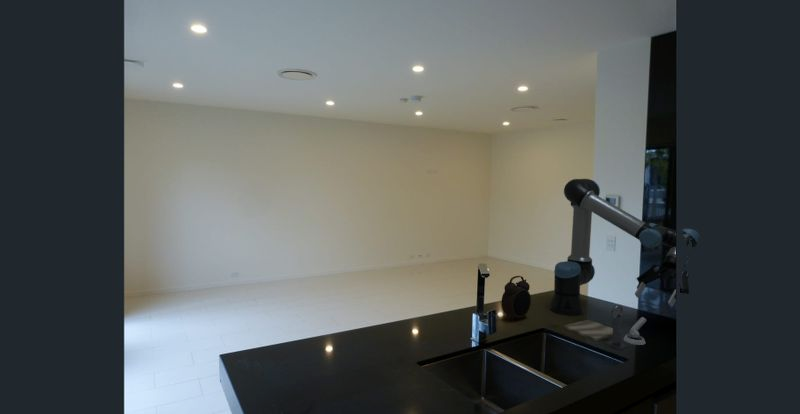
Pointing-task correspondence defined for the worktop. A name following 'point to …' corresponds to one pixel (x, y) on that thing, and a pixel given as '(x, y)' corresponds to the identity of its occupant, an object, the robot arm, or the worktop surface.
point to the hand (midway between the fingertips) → (652, 300)
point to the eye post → (617, 328)
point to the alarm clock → (516, 298)
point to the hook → (636, 333)
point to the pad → (590, 329)
